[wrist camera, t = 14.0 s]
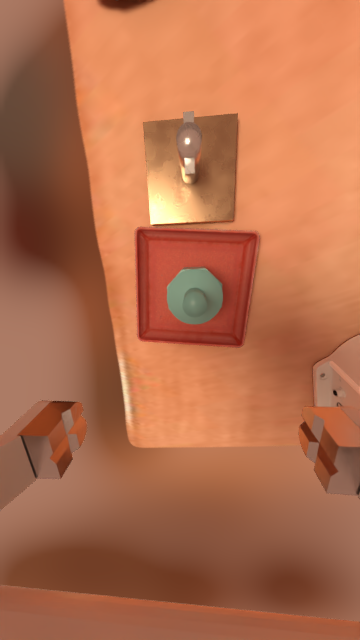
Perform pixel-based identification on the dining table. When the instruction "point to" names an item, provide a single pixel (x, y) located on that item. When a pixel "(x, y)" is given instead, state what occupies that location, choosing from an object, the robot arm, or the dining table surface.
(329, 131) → the dining table surface
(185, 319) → the cap
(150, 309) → the plant saucer
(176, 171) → the post
